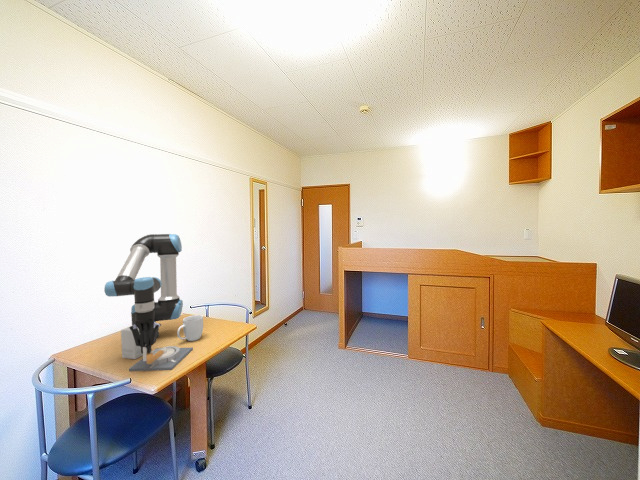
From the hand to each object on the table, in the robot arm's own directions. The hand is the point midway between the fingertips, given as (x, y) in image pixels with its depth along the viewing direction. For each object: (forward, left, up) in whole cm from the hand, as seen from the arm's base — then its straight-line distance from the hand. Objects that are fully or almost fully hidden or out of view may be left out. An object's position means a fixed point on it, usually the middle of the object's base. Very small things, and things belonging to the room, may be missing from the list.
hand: (146, 359), depth 115 cm
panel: (-9, +2, -5) cm, 11 cm away
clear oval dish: (-6, +2, -4) cm, 7 cm away
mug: (-32, +5, -5) cm, 33 cm away
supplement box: (-15, -16, -5) cm, 23 cm away
